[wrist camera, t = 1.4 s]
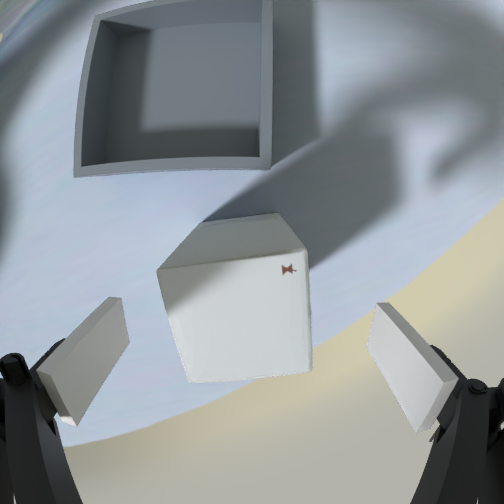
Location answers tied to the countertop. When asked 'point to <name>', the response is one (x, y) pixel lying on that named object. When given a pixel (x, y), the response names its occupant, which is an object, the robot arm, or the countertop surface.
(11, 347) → the countertop surface
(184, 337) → the supplement box
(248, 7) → the grey bin
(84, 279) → the countertop surface
